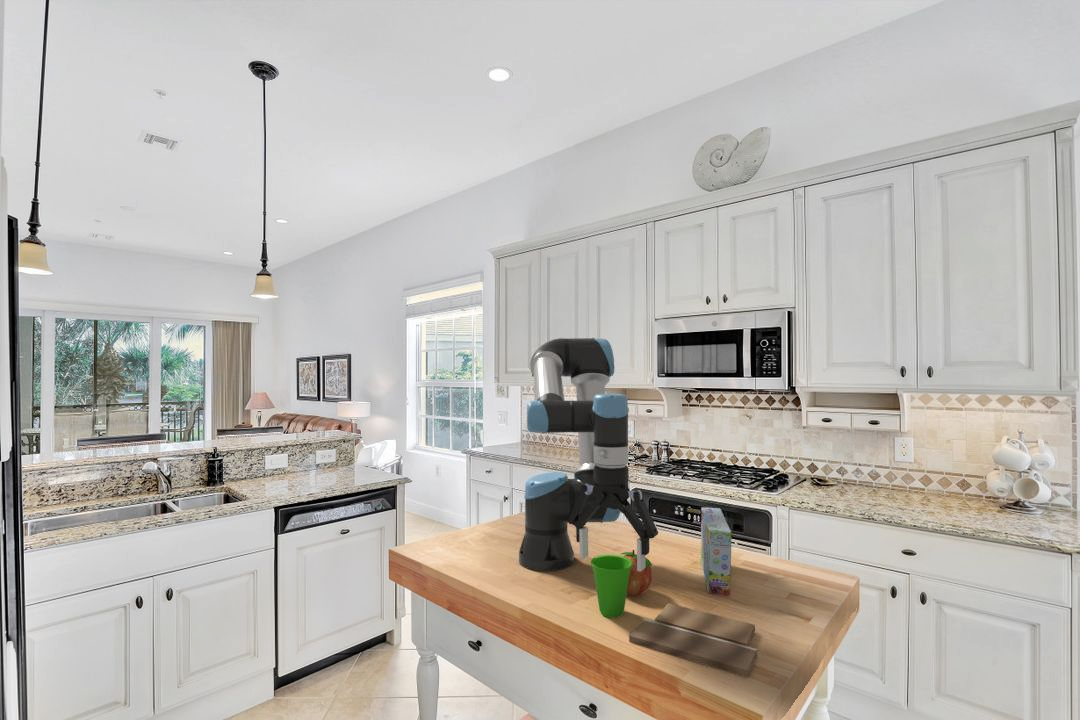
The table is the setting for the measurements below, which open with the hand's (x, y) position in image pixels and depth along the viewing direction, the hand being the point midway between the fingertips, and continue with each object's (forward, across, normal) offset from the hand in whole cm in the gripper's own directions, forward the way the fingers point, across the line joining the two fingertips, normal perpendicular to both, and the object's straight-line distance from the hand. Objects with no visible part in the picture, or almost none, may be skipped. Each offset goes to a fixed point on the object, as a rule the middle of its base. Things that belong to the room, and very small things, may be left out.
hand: (611, 563), depth 116 cm
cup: (+11, 0, 0) cm, 11 cm away
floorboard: (+11, +19, -5) cm, 22 cm away
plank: (+11, +19, +4) cm, 22 cm away
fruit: (+11, 0, +12) cm, 17 cm away
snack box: (+11, +14, +32) cm, 36 cm away
